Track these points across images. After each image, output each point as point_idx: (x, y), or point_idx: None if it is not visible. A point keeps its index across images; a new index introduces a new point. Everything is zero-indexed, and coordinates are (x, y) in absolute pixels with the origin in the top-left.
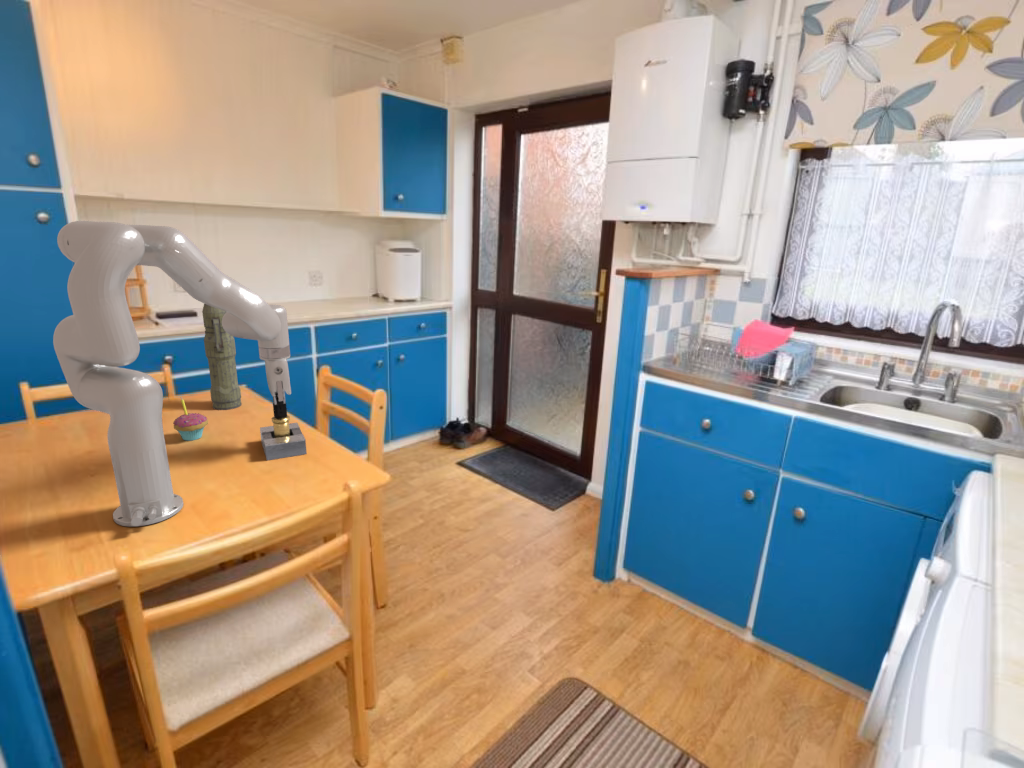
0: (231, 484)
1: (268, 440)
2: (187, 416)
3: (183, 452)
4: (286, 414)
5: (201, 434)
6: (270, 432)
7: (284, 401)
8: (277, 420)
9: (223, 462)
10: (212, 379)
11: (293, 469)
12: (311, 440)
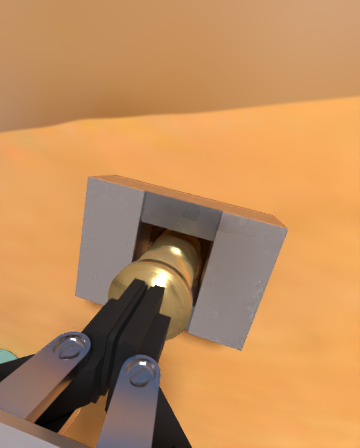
0: (315, 420)
1: (203, 325)
2: None
3: None
4: (161, 295)
5: (7, 358)
6: None
7: (158, 396)
8: (177, 331)
9: (179, 380)
10: None
11: (354, 292)
12: (174, 154)
